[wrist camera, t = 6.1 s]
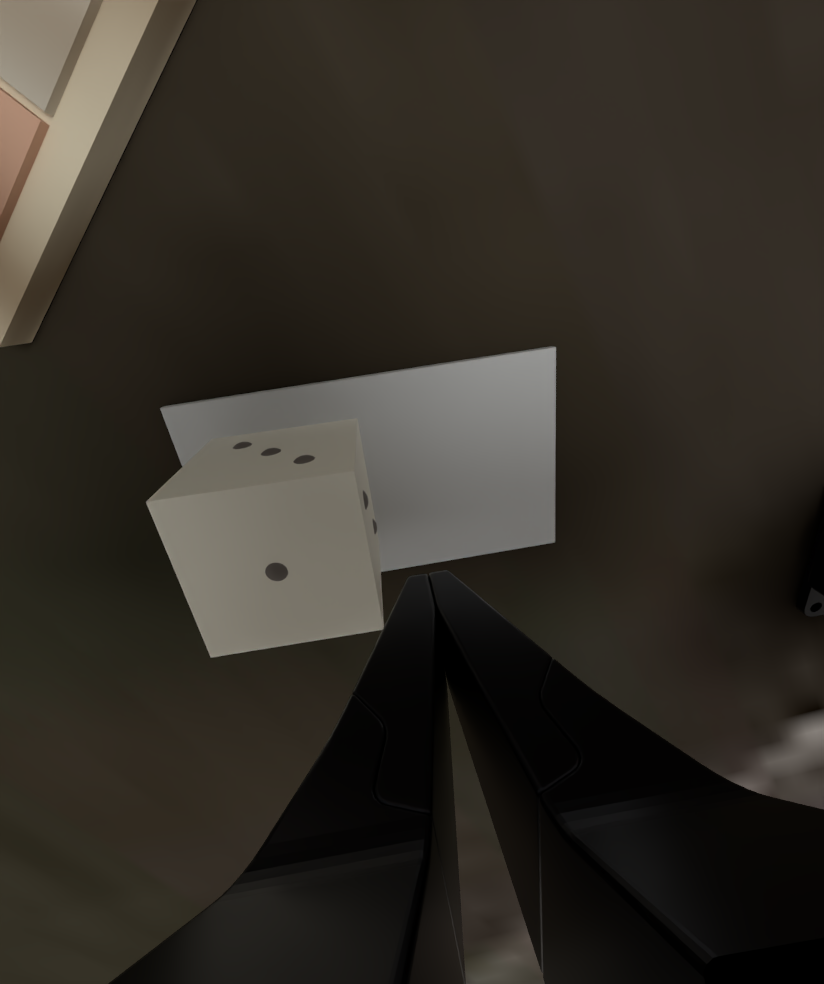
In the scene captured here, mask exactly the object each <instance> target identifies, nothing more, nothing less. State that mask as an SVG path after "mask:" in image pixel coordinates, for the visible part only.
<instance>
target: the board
mask: <svg viewBox="0 0 824 984" xmlns="http://www.w3.org/2000/svg"><path fill="white" fill-rule="evenodd" d="M195 2H196V0H0V347H5V346H12V345H19V344H26V343H32V341H33V339H34V337H35V335H36V333H37V331H38V329H39V327H40V325H41V322H42V320H43V318H44V316H45V314H46V312H47V310H48V308H49V306H50V304H51V302H52V300H53V298H54V295H55V293H56V291H57V289H58V287H59V285H60V283H61V281H62V279H63V277H64V275H65V273H66V271H67V268H68V266H69V264H70V262H71V260H72V258H73V256H74V254H75V252H76V250H77V248H78V246H79V243H80V241H81V239H82V237H83V235H84V233H85V231H86V229H87V227H88V225H89V223H90V221H91V219H92V216H93V214H94V212H95V210H96V208H97V206H98V204H99V202H100V200H101V198H102V196H103V194H104V192H105V189H106V187H107V185H108V183H109V181H110V179H111V177H112V175H113V173H114V171H115V169H116V167H117V164H118V162H119V160H120V158H121V156H122V154H123V152H124V150H125V148H126V146H127V144H128V142H129V140H130V137H131V135H132V133H133V131H134V129H135V127H136V125H137V123H138V121H139V119H140V117H141V115H142V112H143V110H144V108H145V106H146V104H147V102H148V100H149V98H150V96H151V94H152V92H153V90H154V88H155V85H156V83H157V81H158V79H159V77H160V75H161V73H162V71H163V69H164V67H165V65H166V63H167V61H168V58H169V56H170V54H171V52H172V50H173V48H174V46H175V44H176V42H177V40H178V38H179V36H180V33H181V31H182V29H183V27H184V25H185V23H186V21H187V19H188V17H189V15H190V13H191V11H192V9H193V6H194V4H195Z"/></svg>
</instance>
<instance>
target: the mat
mask: <svg viewBox="0 0 824 984" xmlns="http://www.w3.org/2000/svg"><path fill="white" fill-rule="evenodd" d="M160 410H161V412H162V415H163V418H164V420H165V423H166V425H167V428H168V431H169V433H170V436H171V439H172V441H173V444H174V446H175V449H176V452H177V454H178V457H179V459H180V462H181V465H182V467H183V466H184V465H185V464H186V463H187V462H188V461H189V460H190V459H191V458H192V457H193V456H195V455H196V454H197V453H198V452H199V451H200V450H201V449H202V448H203V447H204V446H205V445H206V444H207V443H208V442H209V441H210V440H211V439H215V438H222V437H229V436H236V435H243V434H250V433H257V432H264V431H271V430H278V429H285V428H292V427H299V426H306V425H313V424H320V423H327V422H334V421H341V420H348V419H356V418H357V419H358V425H359V431H360V436H361V442H362V448H363V453H364V459H365V465H366V470H367V476H368V482H369V488H370V493H371V499H372V505H373V510H374V516H375V522H376V524H377V533H378V539H379V551H380V568H381V572H384V571H390V570H395V569H401V568H407V567H413V566H419V565H425V564H431V563H437V562H443V561H448V560H454V559H460V558H466V557H472V556H478V555H484V554H490V553H496V552H501V551H507V550H513V549H519V548H525V547H531V546H537V545H543V544H549V543H554V542H555V443H556V347H553V346H550V347H543V348H537V349H530V350H524V351H517V352H511V353H504V354H498V355H491V356H485V357H478V358H472V359H466V360H459V361H453V362H446V363H440V364H433V365H427V366H420V367H414V368H407V369H401V370H394V371H388V372H381V373H375V374H368V375H362V376H355V377H349V378H343V379H336V380H330V381H323V382H317V383H310V384H304V385H297V386H291V387H284V388H278V389H271V390H265V391H258V392H252V393H245V394H239V395H232V396H226V397H220V398H213V399H207V400H200V401H194V402H187V403H181V404H174V405H168V406H163V407H162V408H160Z"/></svg>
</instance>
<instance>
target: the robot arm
mask: <svg viewBox="0 0 824 984" xmlns="http://www.w3.org/2000/svg"><path fill="white" fill-rule="evenodd" d="M796 607H797V609H798V610H800V611H801V612H802V613H804V614H805V615H807V616H809V617H810V616H818V615H824V512H823V515H822V518H821V522H820V525H819V528H818V532H817V535H816V539H815V542H814V545H813V549H812V552H811V555H810V559H809V562H808V566H807V569H806V572H805V576H804V579H803V582H802V586H801V589H800V593H799V596H798V599H797V603H796ZM445 673H446V675H445ZM446 678H447V682H448V686H449V689H450V692H451V696H452V699H453V702H454V705H455V708H456V711H457V714H458V717H459V720H460V723H461V726H462V729H463V732H464V735H465V739H466V742H467V745H468V748H469V751H470V754H471V757H472V760H473V763H474V766H475V769H476V772H477V775H478V778H479V782H480V785H481V788H482V791H483V794H484V797H485V800H486V803H487V806H488V809H489V812H490V815H491V818H492V821H493V825H494V828H495V831H496V834H497V837H498V840H499V843H500V846H501V849H502V852H503V855H504V858H505V861H506V864H507V868H508V871H509V874H510V877H511V880H512V883H513V886H514V889H515V892H516V895H517V898H518V901H519V904H520V907H521V911H522V914H523V917H524V920H525V923H526V926H527V929H528V932H529V935H530V938H531V941H532V944H533V947H534V950H535V954H536V957H537V960H538V963H539V966H540V969H541V971H542V973H543V978H544V981H545V984H824V810H823V809H819V808H815V807H811V806H807V805H802V804H798V803H794V802H790V801H786V800H782V799H777V798H773V797H770V796H766V795H762V794H759V793H757V792H754V791H751V790H748V789H746V788H744V787H742V786H740V785H737V784H735V783H733V782H731V781H729V780H727V779H726V778H724V777H722V776H720V775H718V774H716V773H715V772H713V771H712V770H710V769H708V768H707V767H705V766H704V765H702V764H700V763H699V762H697V761H696V760H694V759H693V758H691V757H690V756H689V755H687V754H686V753H684V752H683V751H681V750H680V749H678V748H677V747H675V746H674V745H672V744H671V743H669V742H668V741H666V740H665V739H663V738H662V737H660V736H659V735H657V734H656V733H654V732H653V731H651V730H650V729H648V728H647V727H645V726H644V725H642V724H641V723H640V722H638V721H637V720H635V719H634V718H632V717H631V716H629V715H628V714H626V713H625V712H623V711H622V710H620V709H619V708H618V707H616V706H615V705H613V704H612V703H610V702H609V701H608V700H606V699H605V698H603V697H602V696H601V695H599V694H598V693H596V692H595V691H593V690H592V689H591V688H590V687H588V686H587V685H586V684H585V683H583V682H582V681H581V680H580V679H578V678H577V677H576V676H574V675H573V674H572V673H571V672H569V671H568V670H567V669H566V668H565V667H563V666H562V665H561V664H560V663H559V662H557V661H556V660H555V659H553V660H552V657H551V656H550V655H549V654H548V653H546V652H545V651H544V650H543V649H542V648H540V647H539V646H538V645H537V644H536V643H534V642H533V641H532V640H531V639H530V638H529V637H527V636H526V635H525V634H524V633H523V632H521V631H520V630H519V629H518V628H517V627H515V626H514V625H513V624H512V623H511V622H509V621H508V620H507V619H506V618H505V617H503V616H502V615H501V614H500V613H499V612H497V611H496V610H495V609H494V608H493V607H491V606H490V605H489V604H488V603H487V602H485V601H484V600H483V599H482V598H481V597H479V596H478V595H477V594H476V593H475V592H473V591H472V590H471V589H470V588H469V587H467V586H466V585H465V584H464V583H463V582H462V581H460V580H459V579H458V578H457V577H456V576H454V575H453V574H452V573H451V572H450V571H448V570H444V571H438V572H432V573H430V574H429V577H428V575H427V574H420V575H414V576H409V577H408V578H407V580H406V582H405V584H404V586H403V588H402V590H401V593H400V595H399V597H398V599H397V601H396V603H395V605H394V607H393V609H392V611H391V613H390V615H389V618H388V620H387V622H386V624H385V626H384V628H383V630H382V632H381V634H380V636H379V638H378V640H377V643H376V645H375V647H374V649H373V651H372V653H371V655H370V657H369V659H368V661H367V663H366V665H365V667H364V670H363V672H362V674H361V676H360V678H359V680H358V682H357V684H356V686H355V688H354V690H353V695H351V696H350V698H349V700H348V702H347V705H346V707H345V709H344V711H343V713H342V715H341V717H340V719H339V721H338V723H337V724H336V726H335V728H334V730H333V732H332V734H331V736H330V738H329V740H328V741H327V743H326V745H325V746H324V748H323V750H322V751H321V753H320V755H319V756H318V758H317V760H316V761H315V763H314V765H313V766H312V768H311V769H310V771H309V773H308V774H307V776H306V777H305V779H304V781H303V782H302V784H301V785H300V787H299V788H298V790H297V792H296V793H295V795H294V796H293V798H292V799H291V801H290V803H289V804H288V806H287V807H286V809H285V810H284V812H283V814H282V815H281V817H280V818H279V820H278V821H277V823H276V825H275V826H274V828H273V829H272V831H271V832H270V834H269V836H268V837H267V839H266V840H265V842H264V844H263V845H262V847H261V848H260V850H259V851H258V853H257V854H256V856H255V857H254V859H253V860H252V861H251V863H250V864H249V865H248V867H247V868H246V869H245V870H244V872H243V873H242V874H241V875H240V877H239V878H238V879H237V880H236V881H235V882H234V883H233V885H232V886H231V887H230V888H229V889H228V890H227V891H226V892H225V893H224V894H223V895H222V896H221V897H220V898H218V899H217V900H216V901H215V902H214V903H212V904H211V905H210V906H208V907H207V908H206V909H205V910H203V911H202V912H201V913H199V914H198V915H197V916H195V917H194V918H193V919H192V920H190V921H189V922H188V923H186V924H185V925H184V926H183V927H181V928H180V929H179V930H177V931H176V932H175V933H173V934H172V935H171V936H170V937H168V938H167V939H166V940H164V941H163V942H162V943H160V944H159V945H158V946H157V947H155V948H154V949H153V950H151V951H150V952H149V953H148V954H146V955H145V956H144V957H142V958H141V959H140V960H138V961H137V962H136V963H135V964H133V965H132V966H131V967H129V968H128V969H127V970H125V971H124V972H123V973H122V974H120V975H119V976H118V977H116V978H115V979H114V980H113V981H111V982H110V983H109V984H466V980H465V964H464V948H463V932H462V916H461V901H460V885H459V869H458V853H457V837H456V821H455V805H454V789H453V773H452V757H451V741H450V725H449V709H448V693H447V683H446Z"/></svg>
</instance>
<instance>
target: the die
mask: <svg viewBox="0 0 824 984" xmlns="http://www.w3.org/2000/svg"><path fill="white" fill-rule="evenodd" d="M146 504H147V506H148V509H149V511H150V513H151V516H152V518H153V521H154V523H155V525H156V528H157V530H158V532H159V535H160V537H161V540H162V542H163V544H164V547H165V549H166V552H167V554H168V556H169V559H170V561H171V564H172V566H173V568H174V571H175V573H176V576H177V578H178V580H179V583H180V585H181V587H182V590H183V592H184V595H185V597H186V599H187V602H188V604H189V607H190V609H191V611H192V614H193V616H194V619H195V621H196V623H197V626H198V628H199V631H200V633H201V635H202V638H203V640H204V642H205V645H206V647H207V650H208V652H209V654H210V657H211V658H212V657H218V656H224V655H230V654H236V653H243V652H249V651H255V650H261V649H267V648H273V647H279V646H286V645H292V644H298V643H304V642H310V641H316V640H323V639H329V638H335V637H341V636H347V635H353V634H360V633H366V632H372V631H378V630H383V628H384V620H383V602H382V585H381V568H380V551H379V539H378V533H377V524H376V522H375V516H374V510H373V505H372V499H371V493H370V488H369V482H368V476H367V470H366V465H365V459H364V453H363V448H362V442H361V436H360V431H359V425H358V419H357V418H356V419H348V420H341V421H334V422H327V423H320V424H313V425H306V426H299V427H292V428H285V429H278V430H271V431H264V432H257V433H250V434H243V435H236V436H229V437H222V438H215V439H211V440H210V441H209V442H208V443H207V444H206V445H205V446H204V447H203V448H202V449H201V450H200V451H199V452H198V453H197V454H196V455H195V456H193V457H192V458H191V459H190V460H189V461H188V462H187V463H186V464H185V465H184V466H183V467H182V468H181V469H180V470H179V471H178V472H177V473H176V474H175V475H173V476H172V477H171V478H170V479H169V480H168V481H167V482H166V483H165V484H164V485H163V486H162V487H161V488H160V489H159V490H158V491H157V492H156V493H155V494H153V495H152V496H151V497H150V498H149V499H148V500H147V501H146Z"/></svg>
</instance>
